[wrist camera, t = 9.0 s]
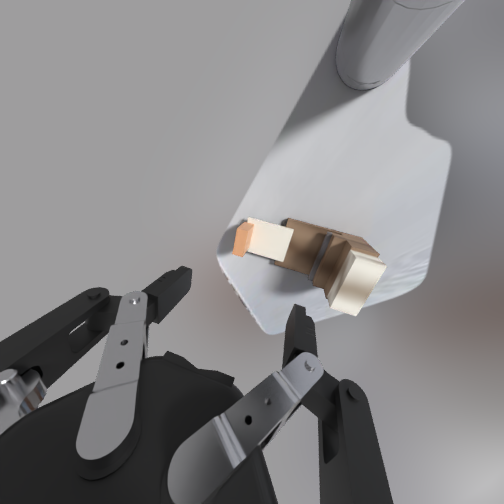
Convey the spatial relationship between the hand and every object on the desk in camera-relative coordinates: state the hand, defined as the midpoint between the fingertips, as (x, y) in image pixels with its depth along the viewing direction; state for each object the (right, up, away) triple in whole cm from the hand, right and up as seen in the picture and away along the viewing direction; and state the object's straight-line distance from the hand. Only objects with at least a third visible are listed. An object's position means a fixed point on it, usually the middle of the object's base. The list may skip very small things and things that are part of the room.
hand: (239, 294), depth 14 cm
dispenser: (+15, +3, +23) cm, 27 cm away
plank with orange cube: (+4, +6, +23) cm, 24 cm away
